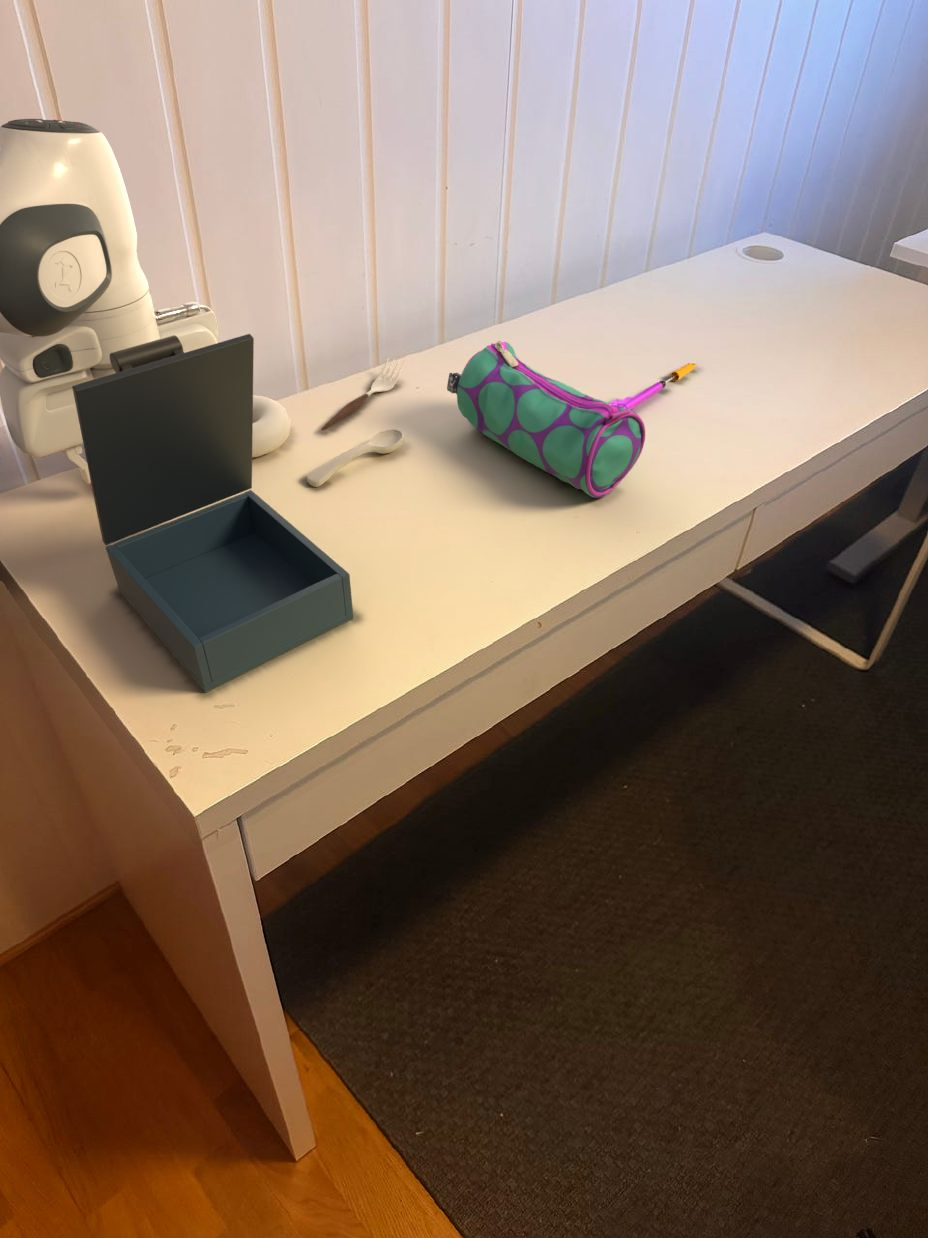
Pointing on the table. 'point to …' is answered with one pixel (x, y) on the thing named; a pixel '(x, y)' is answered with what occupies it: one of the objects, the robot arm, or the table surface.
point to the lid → (167, 431)
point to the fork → (367, 394)
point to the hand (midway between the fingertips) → (140, 462)
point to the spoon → (378, 443)
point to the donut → (268, 425)
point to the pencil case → (548, 421)
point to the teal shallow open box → (231, 587)
